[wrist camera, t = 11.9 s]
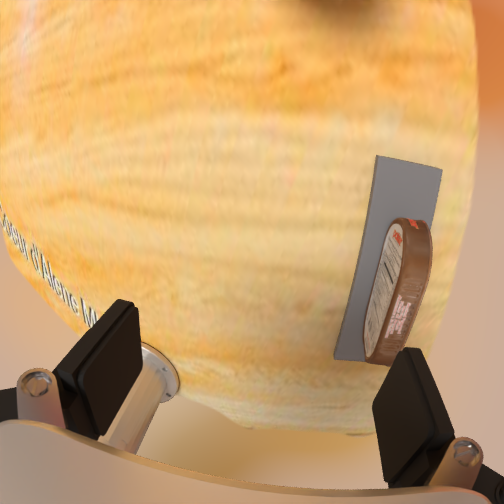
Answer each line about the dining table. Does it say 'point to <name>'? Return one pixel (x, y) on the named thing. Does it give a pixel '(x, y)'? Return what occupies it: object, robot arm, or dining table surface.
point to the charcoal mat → (376, 226)
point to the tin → (397, 289)
